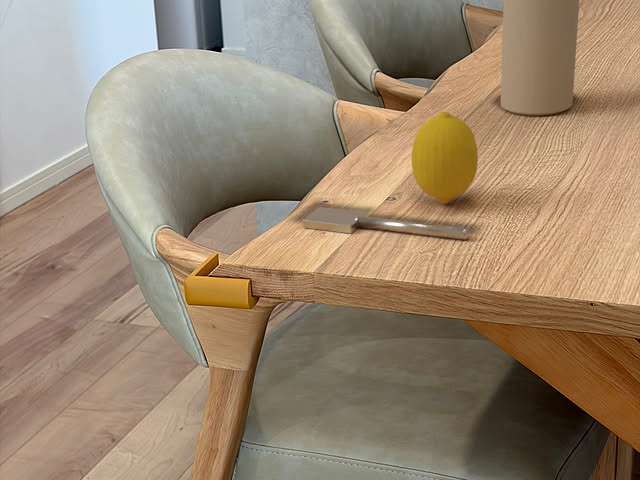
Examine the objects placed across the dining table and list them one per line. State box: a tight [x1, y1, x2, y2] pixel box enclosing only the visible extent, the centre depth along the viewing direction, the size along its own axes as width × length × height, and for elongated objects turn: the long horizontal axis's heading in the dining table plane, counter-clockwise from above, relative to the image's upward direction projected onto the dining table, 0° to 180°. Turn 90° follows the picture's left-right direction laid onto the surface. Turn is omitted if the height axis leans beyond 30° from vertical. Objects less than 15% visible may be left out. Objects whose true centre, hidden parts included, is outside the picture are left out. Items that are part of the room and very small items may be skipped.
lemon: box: [411, 111, 479, 205], centre depth 76 cm, size 6×6×8 cm
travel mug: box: [500, 0, 580, 117], centre depth 99 cm, size 8×8×18 cm
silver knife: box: [302, 206, 471, 241], centre depth 74 cm, size 14×3×1 cm, turn 64°
